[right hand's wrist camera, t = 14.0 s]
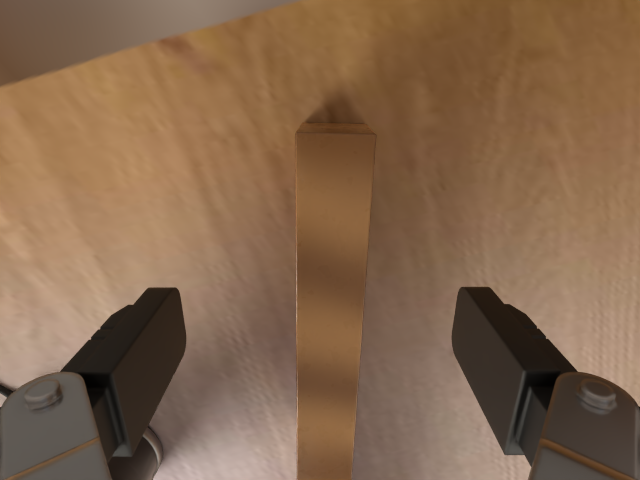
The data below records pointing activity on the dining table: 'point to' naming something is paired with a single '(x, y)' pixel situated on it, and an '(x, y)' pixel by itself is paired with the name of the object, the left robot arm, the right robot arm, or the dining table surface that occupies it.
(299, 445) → the post
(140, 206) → the dining table surface
